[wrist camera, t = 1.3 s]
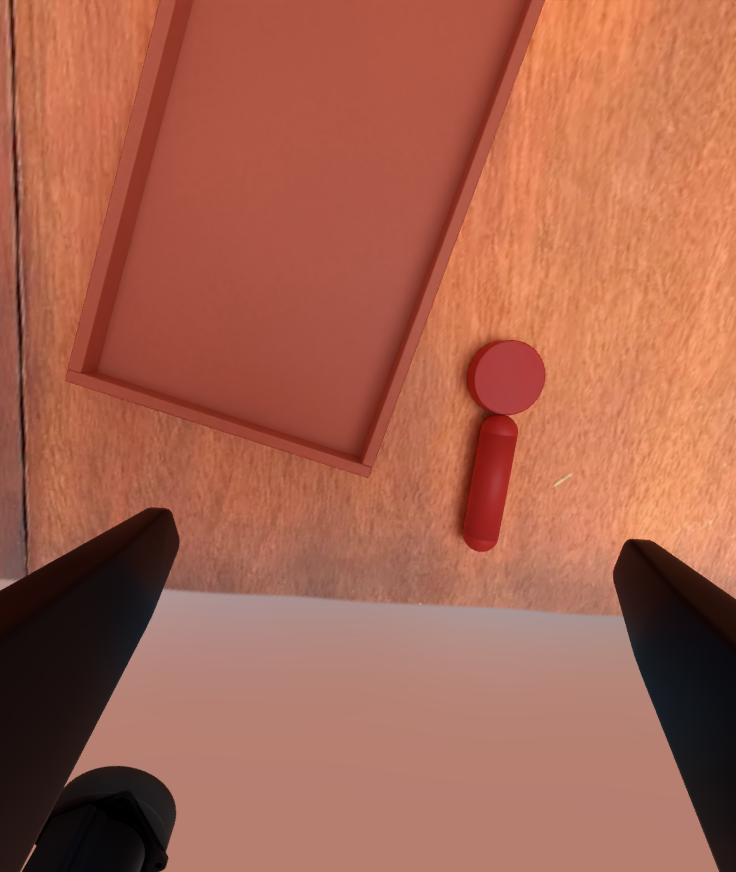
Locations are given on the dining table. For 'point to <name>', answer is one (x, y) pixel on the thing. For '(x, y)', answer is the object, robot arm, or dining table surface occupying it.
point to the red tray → (293, 210)
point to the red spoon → (498, 431)
